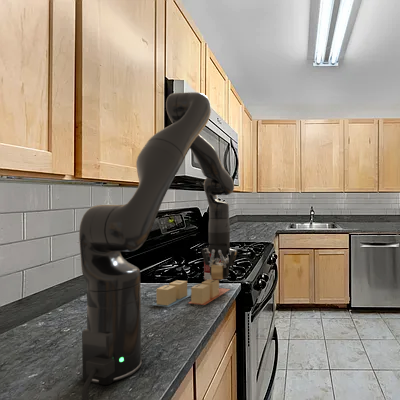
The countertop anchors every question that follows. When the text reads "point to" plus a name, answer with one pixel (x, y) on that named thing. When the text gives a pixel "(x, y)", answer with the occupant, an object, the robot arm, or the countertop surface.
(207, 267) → the soda can
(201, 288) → the wooden blocks on tray
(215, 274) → the small cardboard box
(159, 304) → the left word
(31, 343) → the countertop surface
